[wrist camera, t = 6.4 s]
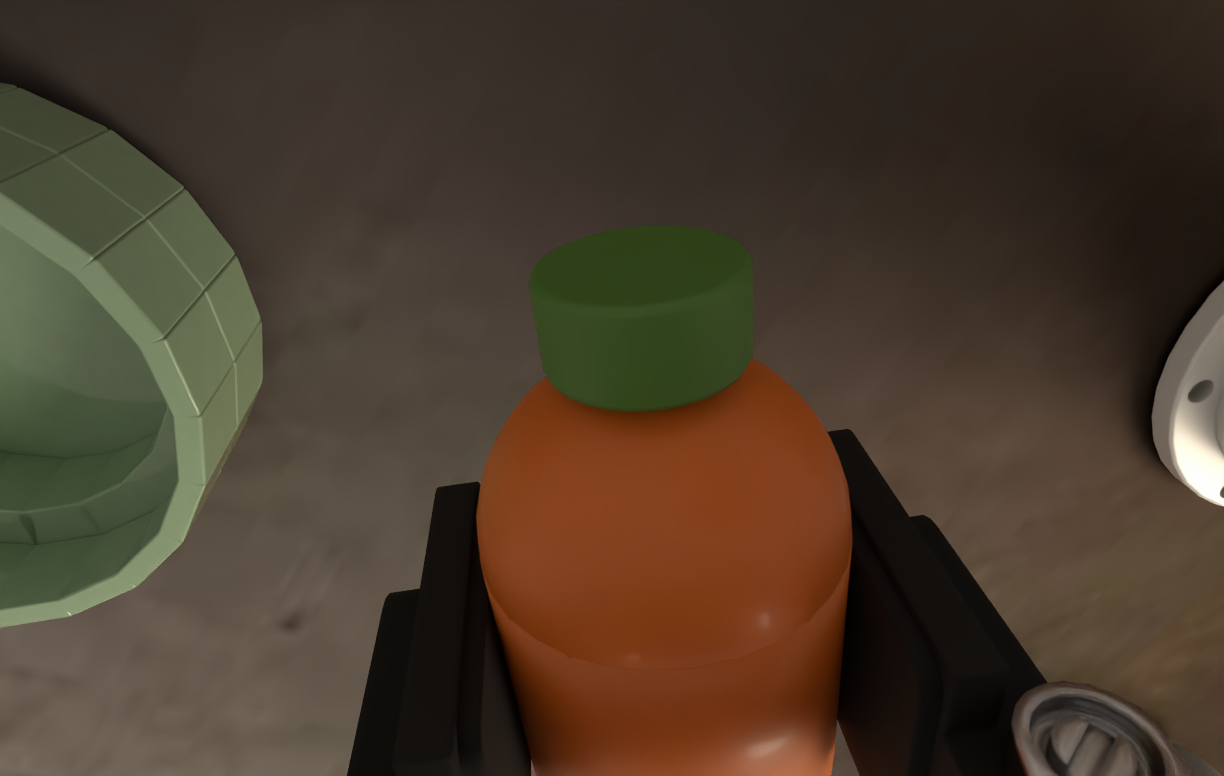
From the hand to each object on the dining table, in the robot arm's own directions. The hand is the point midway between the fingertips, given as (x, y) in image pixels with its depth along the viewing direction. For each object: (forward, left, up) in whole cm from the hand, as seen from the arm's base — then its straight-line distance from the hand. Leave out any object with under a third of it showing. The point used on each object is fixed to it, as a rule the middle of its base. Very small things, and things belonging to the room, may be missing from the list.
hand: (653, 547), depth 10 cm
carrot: (0, +1, 0) cm, 1 cm away
